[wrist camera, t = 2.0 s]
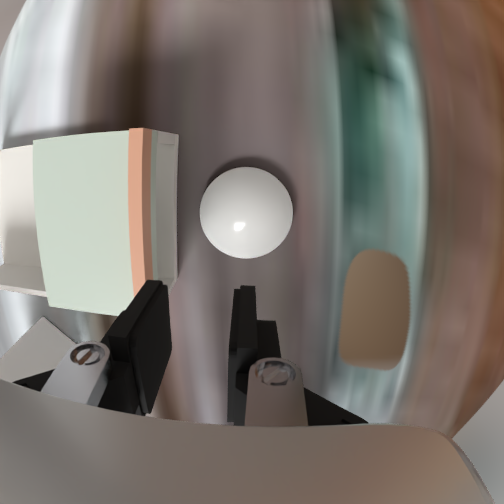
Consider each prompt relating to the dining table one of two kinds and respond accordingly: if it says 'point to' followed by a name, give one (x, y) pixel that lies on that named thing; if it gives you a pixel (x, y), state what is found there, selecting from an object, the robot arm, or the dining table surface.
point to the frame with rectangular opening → (24, 222)
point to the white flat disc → (246, 212)
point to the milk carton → (35, 352)
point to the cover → (96, 217)
